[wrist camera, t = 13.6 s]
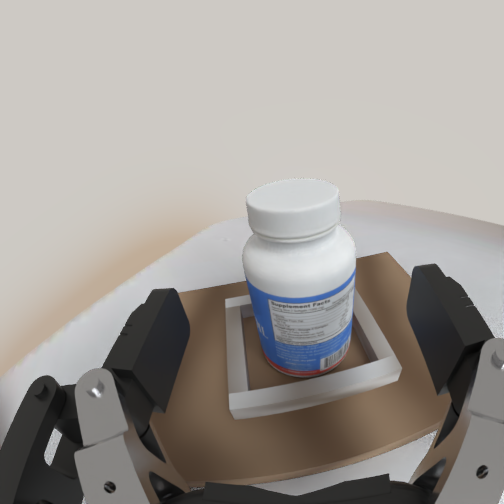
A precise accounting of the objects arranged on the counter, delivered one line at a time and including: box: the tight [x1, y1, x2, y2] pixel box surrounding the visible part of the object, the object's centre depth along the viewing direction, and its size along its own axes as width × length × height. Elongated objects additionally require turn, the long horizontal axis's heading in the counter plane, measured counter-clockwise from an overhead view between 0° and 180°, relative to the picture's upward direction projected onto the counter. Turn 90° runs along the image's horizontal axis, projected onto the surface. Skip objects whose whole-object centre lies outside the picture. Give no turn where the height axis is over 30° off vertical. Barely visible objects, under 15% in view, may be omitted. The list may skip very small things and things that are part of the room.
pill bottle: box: [242, 178, 356, 378], centre depth 14 cm, size 6×5×10 cm
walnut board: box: [150, 252, 451, 487], centre depth 17 cm, size 20×16×3 cm
